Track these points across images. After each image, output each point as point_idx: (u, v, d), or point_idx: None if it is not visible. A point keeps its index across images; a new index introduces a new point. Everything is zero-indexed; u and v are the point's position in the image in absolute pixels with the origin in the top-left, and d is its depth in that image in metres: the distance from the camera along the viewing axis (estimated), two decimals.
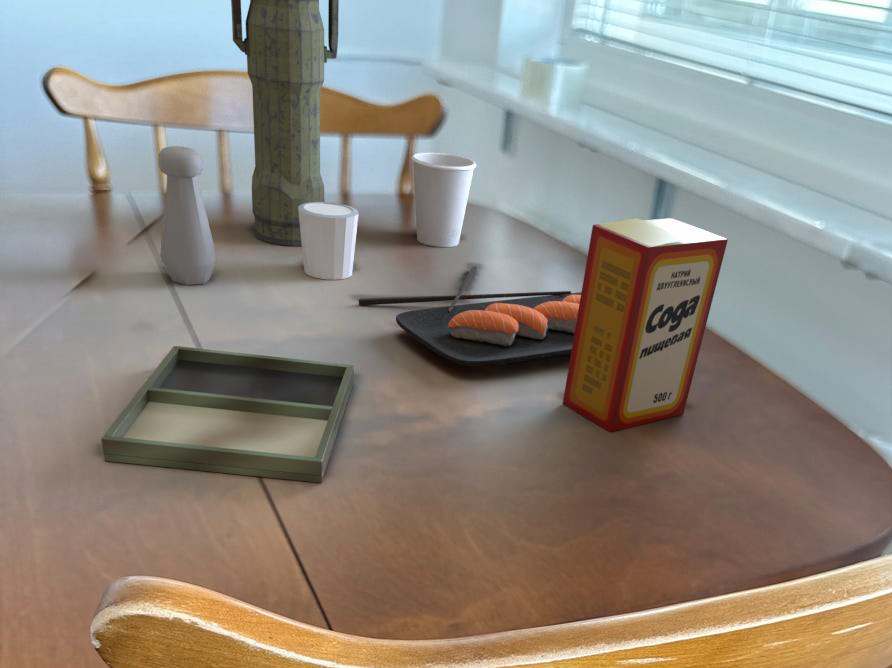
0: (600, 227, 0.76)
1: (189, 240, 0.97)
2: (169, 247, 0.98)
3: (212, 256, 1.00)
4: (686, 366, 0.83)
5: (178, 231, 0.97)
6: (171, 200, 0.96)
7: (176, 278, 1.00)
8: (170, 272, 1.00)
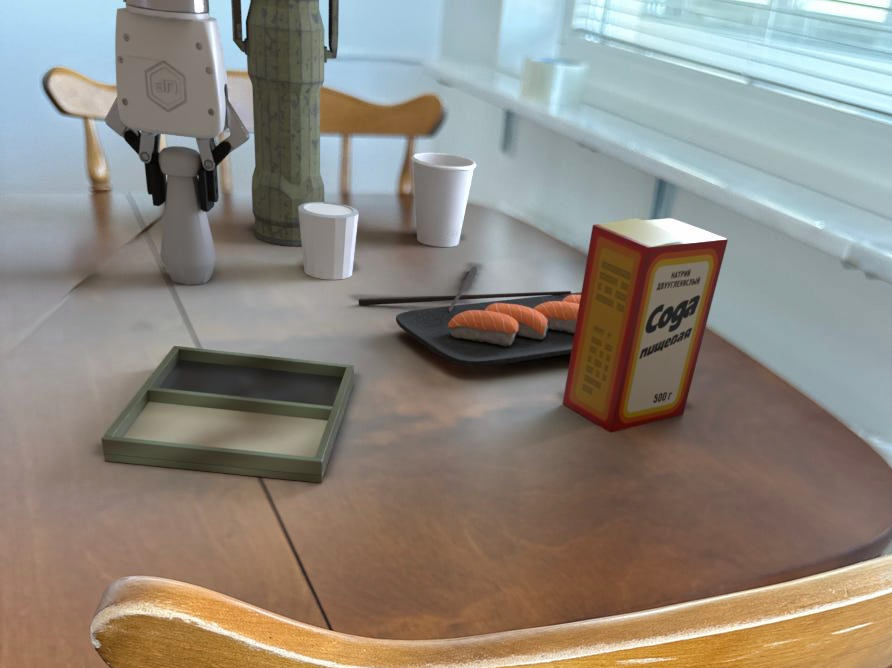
0: (600, 227, 0.76)
1: (189, 240, 0.97)
2: (169, 247, 0.98)
3: (212, 256, 1.00)
4: (686, 366, 0.83)
5: (178, 231, 0.97)
6: (171, 200, 0.96)
7: (176, 278, 1.00)
8: (170, 272, 1.00)
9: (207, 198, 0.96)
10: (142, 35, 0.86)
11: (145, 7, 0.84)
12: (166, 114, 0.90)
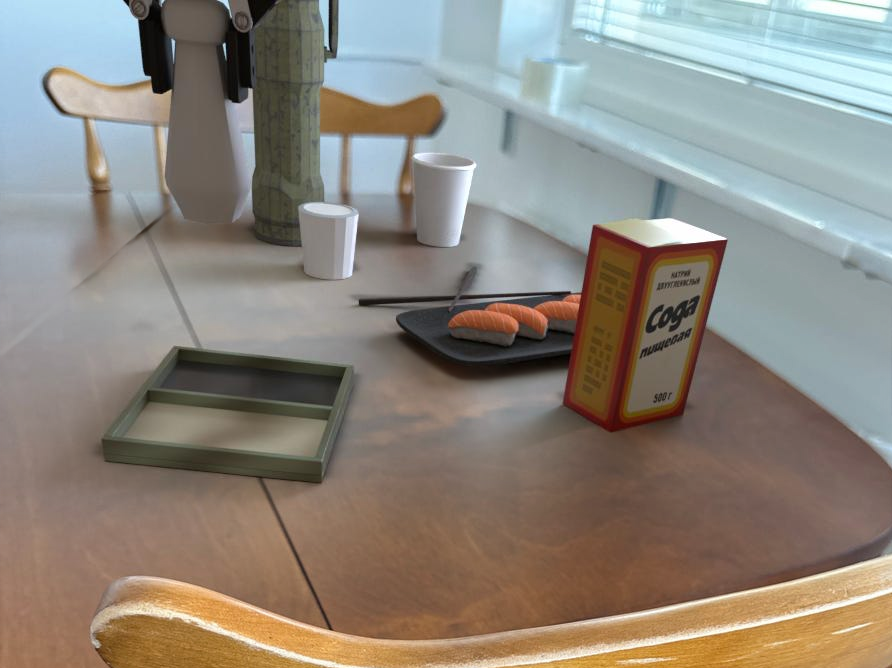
0: (600, 227, 0.76)
1: (211, 150, 0.62)
2: (179, 161, 0.62)
3: (245, 178, 0.64)
4: (686, 366, 0.83)
5: (193, 134, 0.61)
6: (182, 83, 0.60)
7: (190, 213, 0.64)
8: (180, 204, 0.64)
9: (239, 80, 0.60)
10: None
11: None
12: None
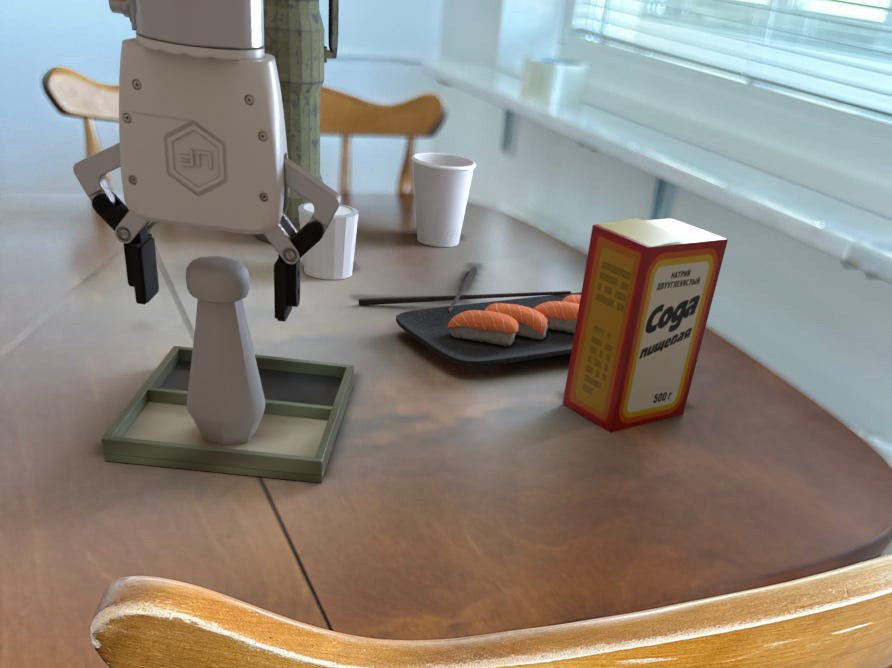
0: (600, 227, 0.76)
1: (229, 388, 0.67)
2: (200, 397, 0.68)
3: (260, 406, 0.70)
4: (686, 366, 0.83)
5: (213, 376, 0.67)
6: (204, 333, 0.66)
7: (209, 436, 0.70)
8: (200, 428, 0.70)
9: (285, 302, 0.65)
10: (162, 81, 0.55)
11: (167, 40, 0.53)
12: (195, 199, 0.59)
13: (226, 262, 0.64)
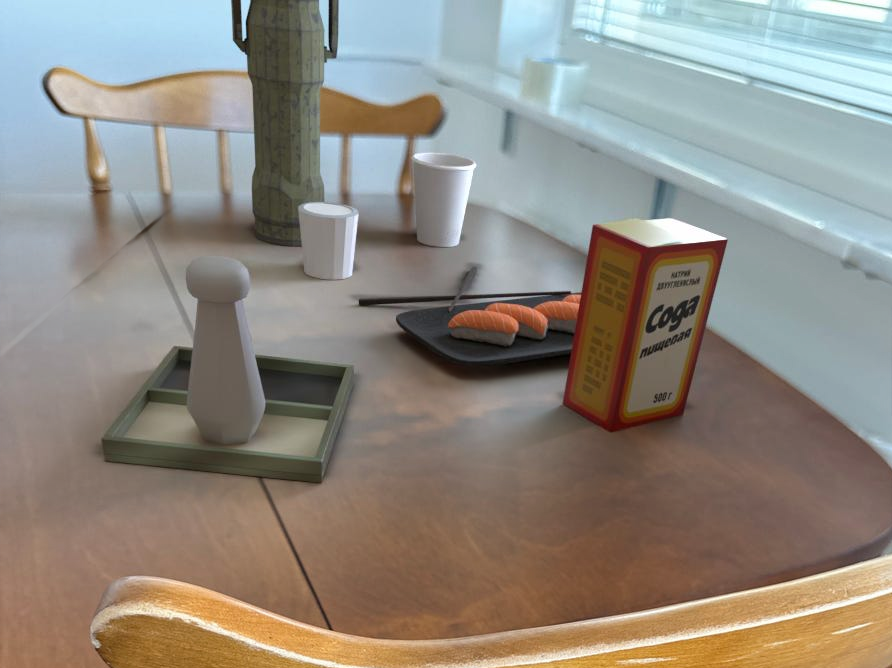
0: (600, 227, 0.76)
1: (229, 387, 0.67)
2: (200, 397, 0.68)
3: (260, 406, 0.70)
4: (686, 366, 0.83)
5: (213, 376, 0.67)
6: (204, 333, 0.66)
7: (209, 436, 0.70)
8: (200, 428, 0.70)
9: None
10: None
11: None
12: None
13: (226, 262, 0.64)
